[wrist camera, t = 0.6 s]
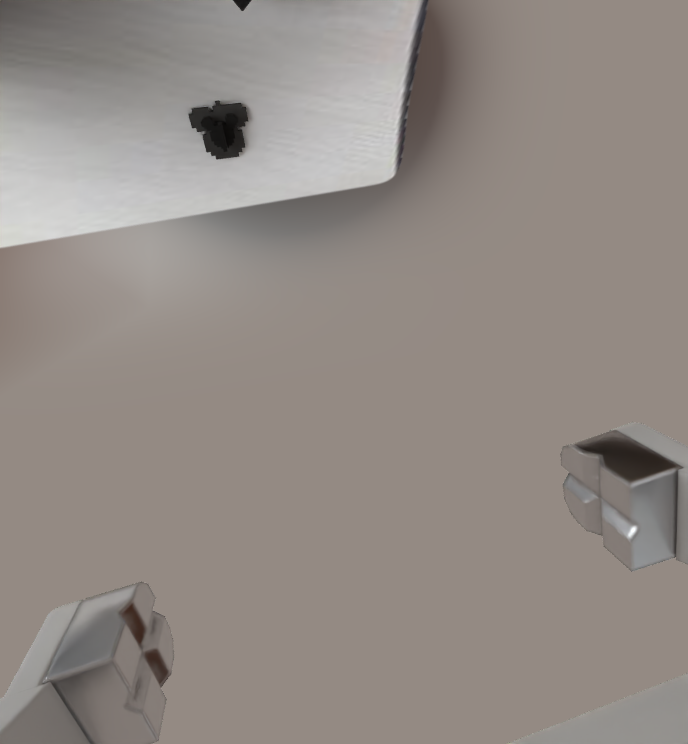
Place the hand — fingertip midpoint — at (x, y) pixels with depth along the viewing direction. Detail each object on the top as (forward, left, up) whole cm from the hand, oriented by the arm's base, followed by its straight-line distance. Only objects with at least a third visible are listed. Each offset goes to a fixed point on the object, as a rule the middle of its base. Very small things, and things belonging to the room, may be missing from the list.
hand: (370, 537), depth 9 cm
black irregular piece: (+5, -6, -52) cm, 53 cm away
